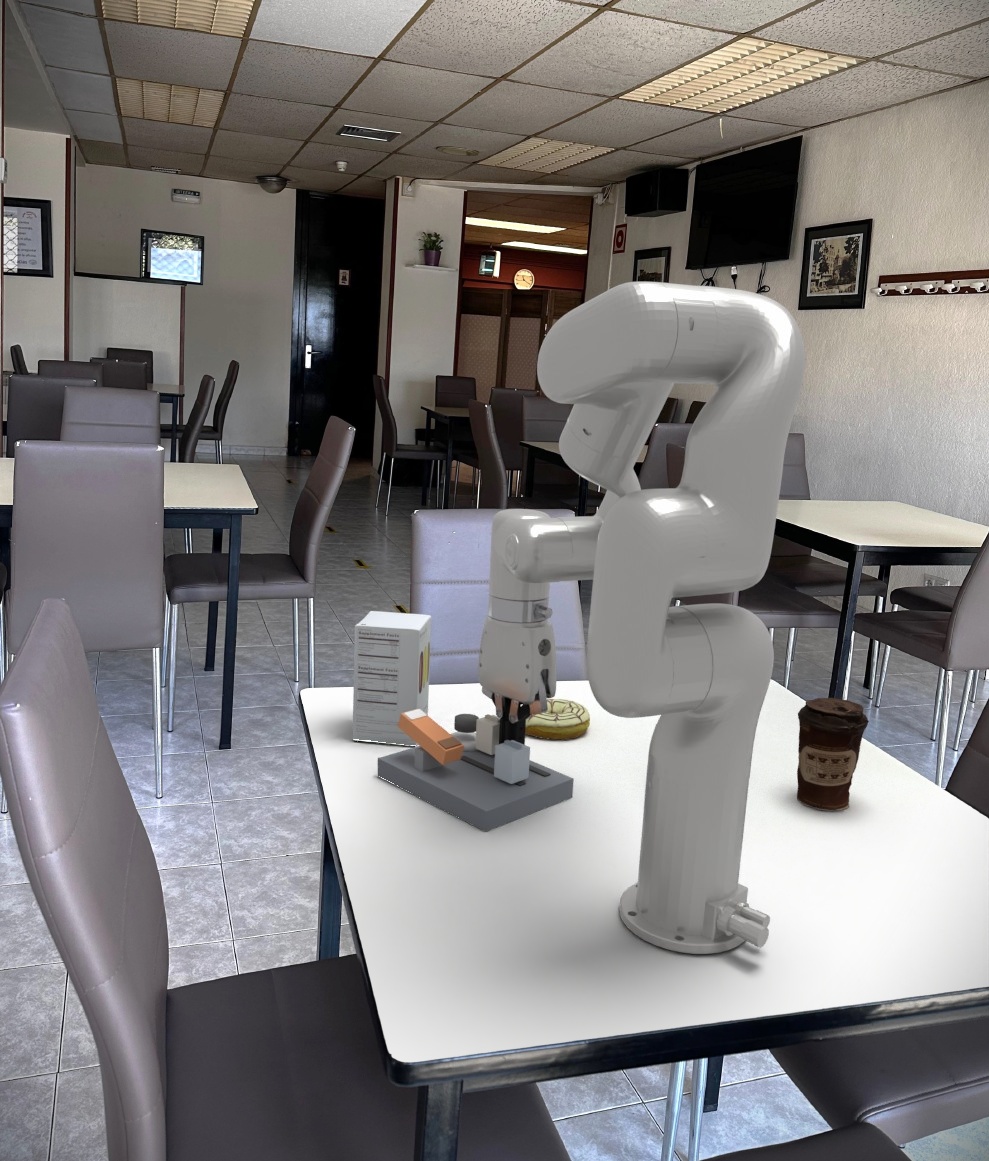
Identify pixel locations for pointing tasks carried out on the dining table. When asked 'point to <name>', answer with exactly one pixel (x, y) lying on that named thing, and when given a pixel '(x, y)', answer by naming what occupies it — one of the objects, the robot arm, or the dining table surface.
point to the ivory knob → (487, 733)
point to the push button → (465, 723)
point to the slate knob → (511, 761)
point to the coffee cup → (828, 751)
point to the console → (474, 784)
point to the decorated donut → (559, 720)
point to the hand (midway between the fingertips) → (511, 747)
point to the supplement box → (389, 673)
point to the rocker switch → (431, 736)
